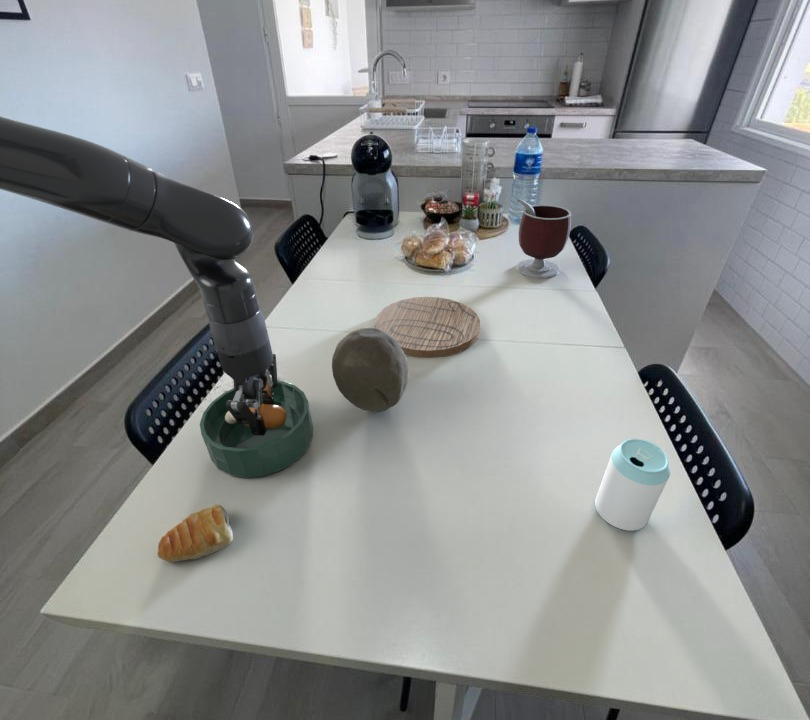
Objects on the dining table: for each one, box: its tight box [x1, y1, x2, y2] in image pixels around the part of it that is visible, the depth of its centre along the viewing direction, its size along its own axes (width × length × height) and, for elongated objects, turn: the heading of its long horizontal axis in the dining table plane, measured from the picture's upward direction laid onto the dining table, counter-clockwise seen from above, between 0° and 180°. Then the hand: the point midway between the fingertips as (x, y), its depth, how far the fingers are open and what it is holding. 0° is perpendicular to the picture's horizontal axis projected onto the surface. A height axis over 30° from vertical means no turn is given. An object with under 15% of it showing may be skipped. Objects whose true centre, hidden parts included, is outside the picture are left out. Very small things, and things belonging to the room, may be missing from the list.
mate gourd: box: [516, 198, 572, 279], centre depth 128 cm, size 16×14×20 cm
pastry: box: [157, 504, 234, 563], centre depth 61 cm, size 9×7×4 cm
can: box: [594, 438, 671, 532], centre depth 61 cm, size 7×7×12 cm
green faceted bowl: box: [199, 380, 314, 479], centre depth 76 cm, size 17×17×6 cm
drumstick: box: [225, 404, 286, 429], centre depth 74 cm, size 11×4×4 cm, turn 82°
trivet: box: [374, 296, 481, 359], centre depth 106 cm, size 25×25×2 cm
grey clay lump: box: [331, 327, 409, 413], centre depth 81 cm, size 14×14×15 cm
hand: (265, 423), depth 75 cm, fingers closed on drumstick, 4 cm apart
